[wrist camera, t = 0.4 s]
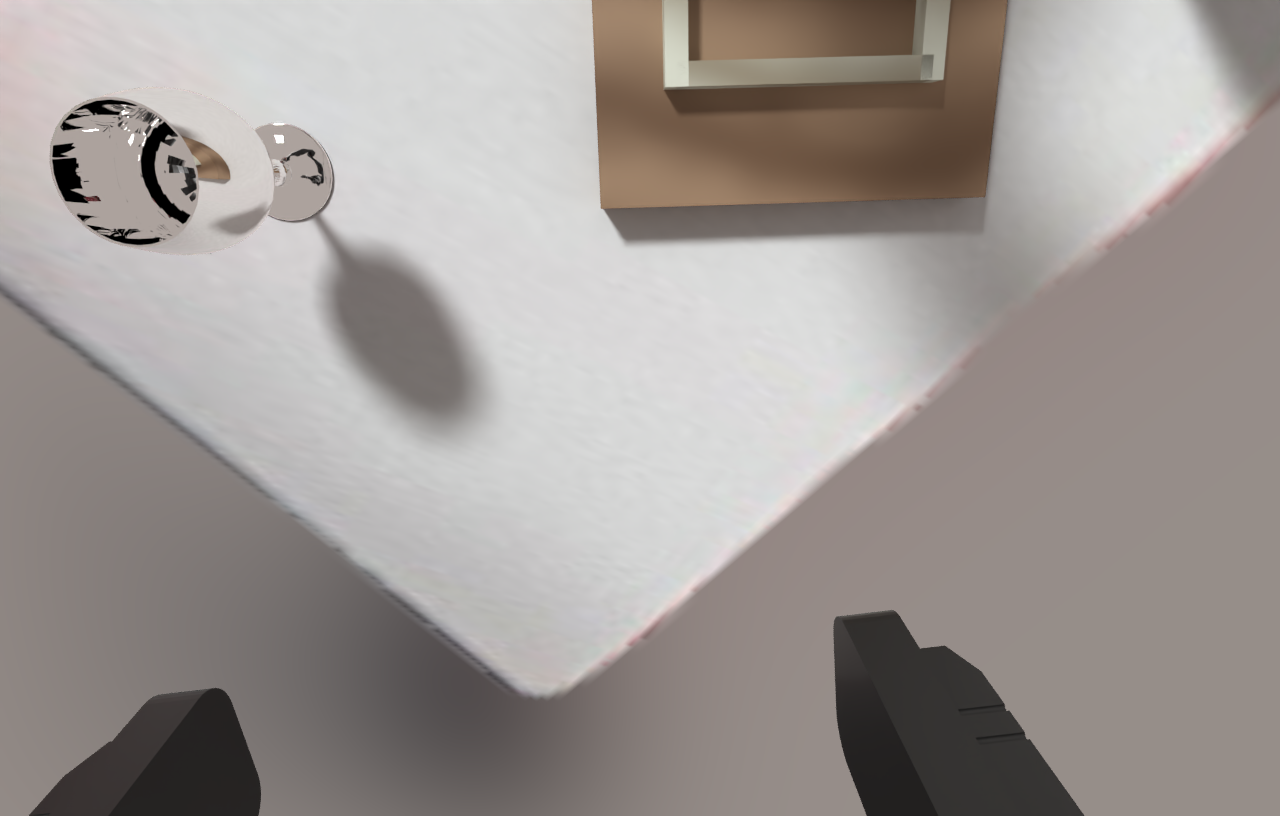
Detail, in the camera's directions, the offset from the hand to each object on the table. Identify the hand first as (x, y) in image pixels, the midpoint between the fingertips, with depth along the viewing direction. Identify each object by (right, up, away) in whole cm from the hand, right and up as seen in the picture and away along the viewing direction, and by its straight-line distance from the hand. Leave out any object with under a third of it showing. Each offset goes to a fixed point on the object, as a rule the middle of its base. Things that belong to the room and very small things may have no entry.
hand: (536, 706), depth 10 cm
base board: (+8, +24, +23) cm, 34 cm away
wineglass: (-16, +15, +26) cm, 34 cm away
